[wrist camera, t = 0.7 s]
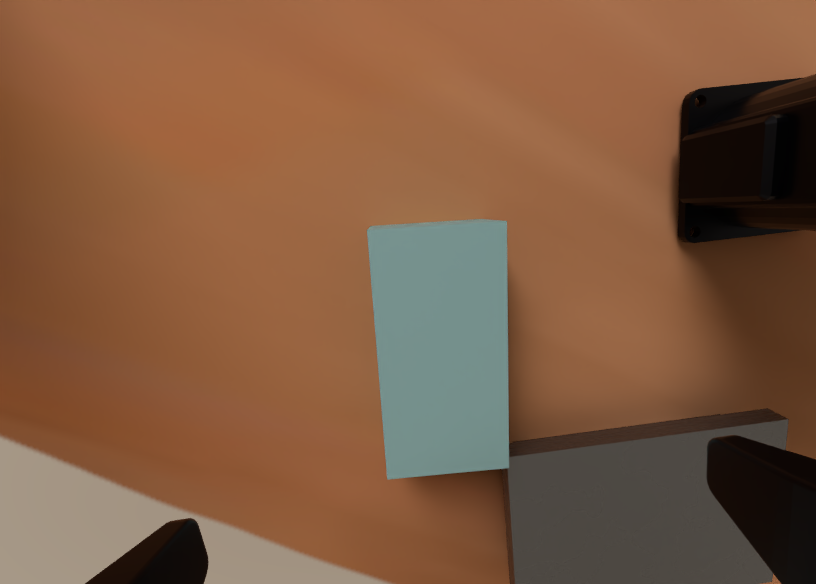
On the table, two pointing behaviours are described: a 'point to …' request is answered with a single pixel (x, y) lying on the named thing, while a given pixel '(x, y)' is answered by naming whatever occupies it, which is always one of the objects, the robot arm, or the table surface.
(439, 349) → the housing
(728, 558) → the stand
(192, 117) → the table surface
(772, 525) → the robot arm
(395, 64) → the table surface
